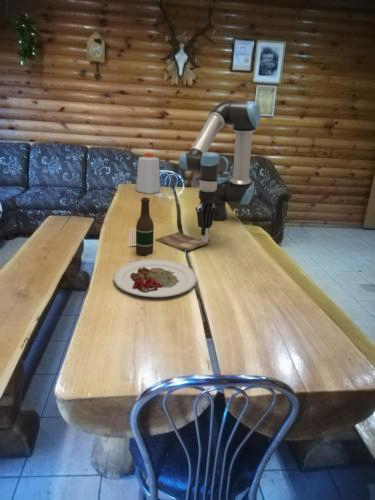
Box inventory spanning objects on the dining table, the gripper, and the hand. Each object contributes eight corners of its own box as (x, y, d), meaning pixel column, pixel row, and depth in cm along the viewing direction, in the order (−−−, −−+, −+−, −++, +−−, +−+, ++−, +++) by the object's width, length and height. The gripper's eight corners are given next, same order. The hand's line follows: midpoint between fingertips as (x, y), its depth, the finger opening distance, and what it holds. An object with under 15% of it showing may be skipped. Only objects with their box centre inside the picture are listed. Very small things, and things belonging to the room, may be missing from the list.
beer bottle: (156, 251, 151) (158, 197, 142) (148, 257, 144) (149, 201, 135) (140, 248, 153) (140, 195, 144) (132, 254, 146) (132, 198, 137)
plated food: (194, 264, 140) (194, 257, 139) (198, 302, 112) (199, 293, 111) (120, 262, 139) (120, 254, 137) (106, 299, 111) (106, 290, 110)
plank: (197, 240, 166) (196, 238, 165) (210, 242, 160) (209, 239, 160) (174, 248, 154) (174, 246, 154) (187, 250, 149) (187, 247, 149)
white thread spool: (149, 195, 249) (150, 155, 239) (133, 191, 257) (133, 152, 246) (162, 191, 261) (163, 154, 251) (146, 188, 269) (147, 151, 258)
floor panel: (178, 234, 173) (178, 232, 173) (196, 240, 166) (196, 238, 165) (155, 241, 162) (155, 239, 161) (173, 248, 155) (173, 246, 154)
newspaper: (128, 231, 174) (128, 228, 174) (142, 232, 175) (142, 228, 175) (127, 249, 153) (127, 245, 152) (143, 249, 154) (143, 245, 153)
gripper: (210, 187, 156) (206, 236, 164) (191, 190, 146) (188, 242, 155) (223, 189, 151) (219, 240, 160) (205, 193, 142) (201, 246, 150)
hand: (204, 241), depth 157 cm, fingers closed
